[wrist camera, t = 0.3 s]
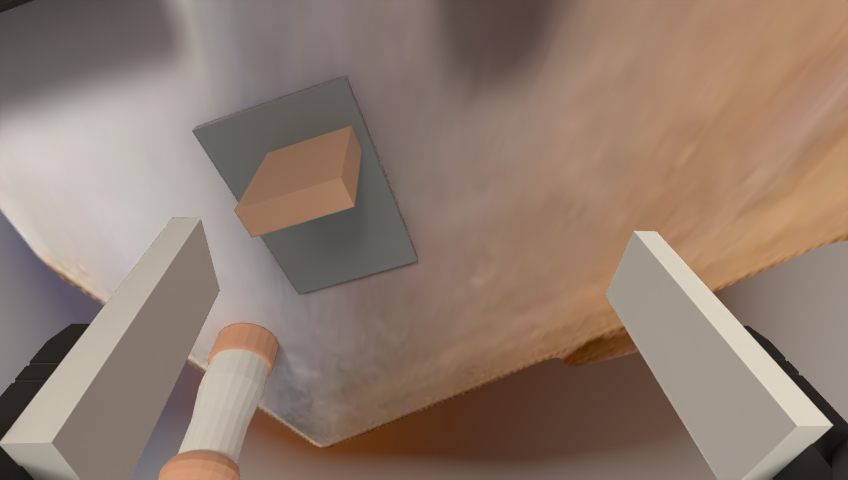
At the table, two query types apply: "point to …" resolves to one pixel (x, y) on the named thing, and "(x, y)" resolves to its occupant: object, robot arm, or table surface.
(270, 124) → the slate board
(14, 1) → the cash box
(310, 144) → the tile
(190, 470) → the salt shaker
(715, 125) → the table surface
